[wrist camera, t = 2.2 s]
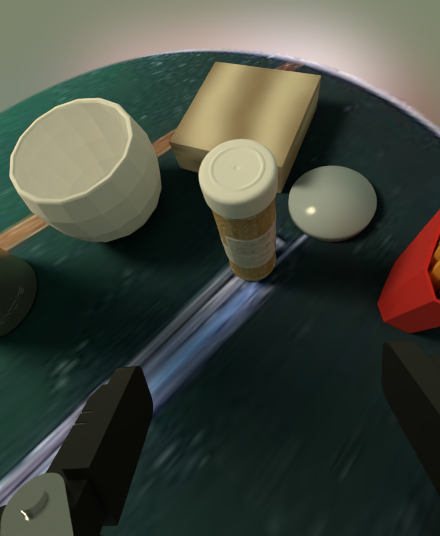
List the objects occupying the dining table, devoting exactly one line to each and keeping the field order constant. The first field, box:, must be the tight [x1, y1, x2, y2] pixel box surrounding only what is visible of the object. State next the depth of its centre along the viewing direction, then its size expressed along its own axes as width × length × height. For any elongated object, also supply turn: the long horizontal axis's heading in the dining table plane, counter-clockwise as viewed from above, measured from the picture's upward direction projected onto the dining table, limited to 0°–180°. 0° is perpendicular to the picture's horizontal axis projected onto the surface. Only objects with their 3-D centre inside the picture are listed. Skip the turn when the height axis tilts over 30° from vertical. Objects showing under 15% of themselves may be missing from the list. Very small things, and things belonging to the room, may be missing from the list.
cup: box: [10, 98, 162, 242], centre depth 30 cm, size 12×12×10 cm
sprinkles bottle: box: [199, 139, 278, 281], centre depth 23 cm, size 5×5×13 cm
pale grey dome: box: [288, 166, 377, 242], centre depth 30 cm, size 8×8×1 cm
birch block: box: [169, 62, 321, 193], centre depth 33 cm, size 12×12×4 cm
